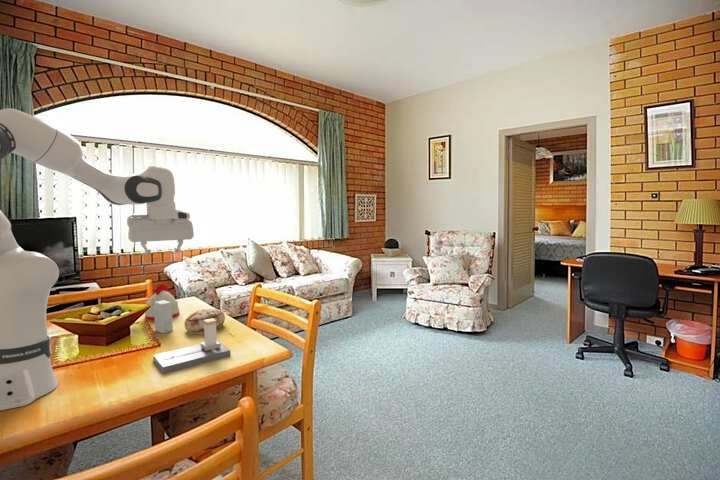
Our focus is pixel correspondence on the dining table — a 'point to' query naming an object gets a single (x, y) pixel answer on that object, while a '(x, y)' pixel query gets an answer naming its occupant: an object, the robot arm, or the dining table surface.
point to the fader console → (188, 357)
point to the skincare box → (163, 316)
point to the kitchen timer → (159, 296)
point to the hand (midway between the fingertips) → (162, 253)
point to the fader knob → (210, 335)
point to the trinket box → (196, 320)
